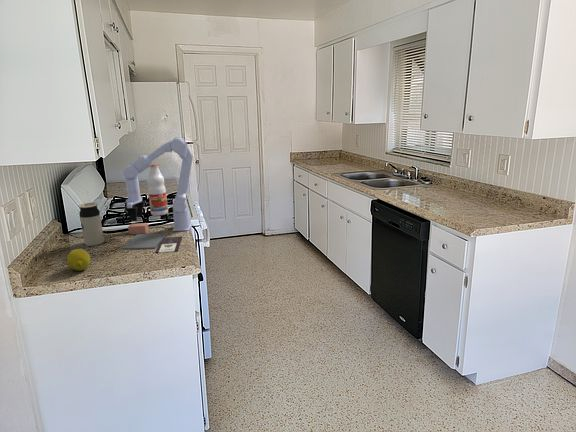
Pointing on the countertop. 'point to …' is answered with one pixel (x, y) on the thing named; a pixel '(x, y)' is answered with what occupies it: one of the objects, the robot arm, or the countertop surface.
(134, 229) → the block
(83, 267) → the lemon
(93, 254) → the countertop surface
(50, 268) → the countertop surface
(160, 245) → the chocolate bar
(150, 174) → the fruit juice
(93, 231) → the travel mug
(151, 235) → the mat
